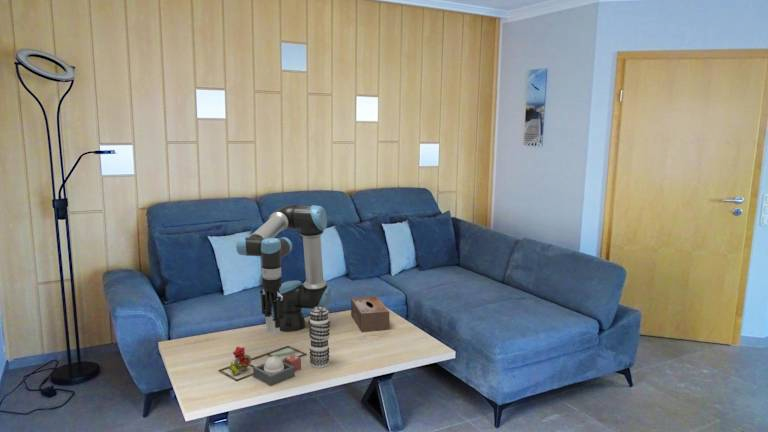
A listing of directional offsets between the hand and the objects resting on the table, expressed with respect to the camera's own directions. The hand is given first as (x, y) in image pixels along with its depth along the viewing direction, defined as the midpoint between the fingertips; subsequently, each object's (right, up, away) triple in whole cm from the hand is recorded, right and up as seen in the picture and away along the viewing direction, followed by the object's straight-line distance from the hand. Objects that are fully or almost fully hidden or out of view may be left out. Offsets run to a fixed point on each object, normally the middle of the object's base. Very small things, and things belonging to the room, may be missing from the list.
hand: (273, 333), depth 223 cm
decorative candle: (+17, -17, +16) cm, 28 cm away
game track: (-7, -16, +16) cm, 24 cm away
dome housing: (+2, -18, +5) cm, 19 cm away
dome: (0, -18, +3) cm, 18 cm away
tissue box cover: (+37, -9, +66) cm, 77 cm away
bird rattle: (-15, -18, +7) cm, 24 cm away
